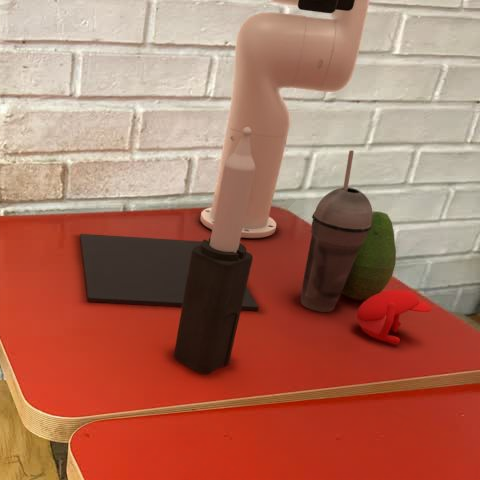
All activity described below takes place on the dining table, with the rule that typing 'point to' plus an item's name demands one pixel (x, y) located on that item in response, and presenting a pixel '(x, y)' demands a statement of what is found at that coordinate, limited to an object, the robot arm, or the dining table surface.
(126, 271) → the mat
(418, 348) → the dining table surface
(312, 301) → the beverage cup
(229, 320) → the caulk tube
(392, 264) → the fruit
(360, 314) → the red animal figurine
